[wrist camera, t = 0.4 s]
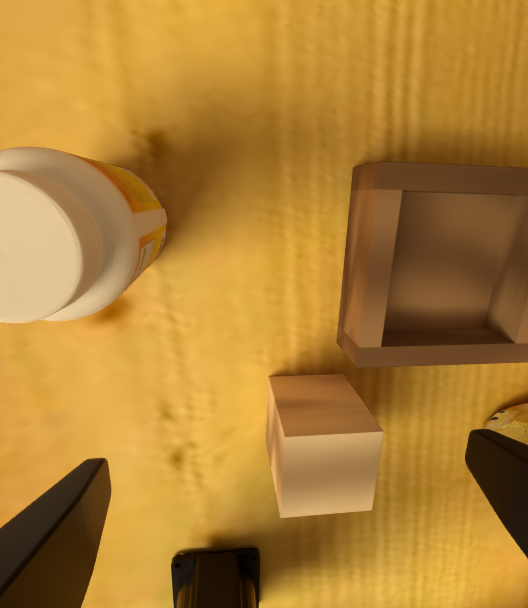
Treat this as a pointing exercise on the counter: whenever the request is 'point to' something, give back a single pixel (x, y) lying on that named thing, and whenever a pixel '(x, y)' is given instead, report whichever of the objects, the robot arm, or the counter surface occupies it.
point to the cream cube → (321, 445)
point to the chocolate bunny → (511, 423)
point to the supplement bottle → (71, 234)
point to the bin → (435, 266)
